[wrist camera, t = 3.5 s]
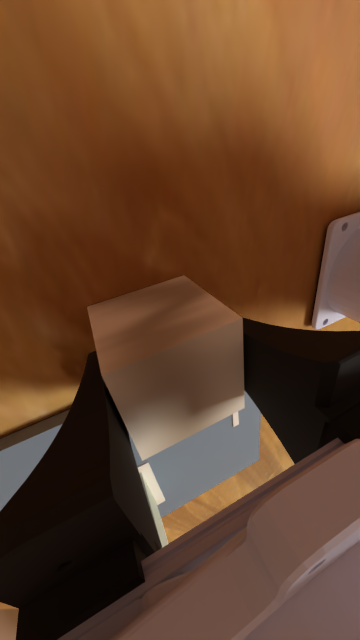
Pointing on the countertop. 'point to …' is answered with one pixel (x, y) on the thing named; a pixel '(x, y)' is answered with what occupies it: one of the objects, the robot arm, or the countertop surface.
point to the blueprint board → (158, 470)
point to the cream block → (169, 361)
